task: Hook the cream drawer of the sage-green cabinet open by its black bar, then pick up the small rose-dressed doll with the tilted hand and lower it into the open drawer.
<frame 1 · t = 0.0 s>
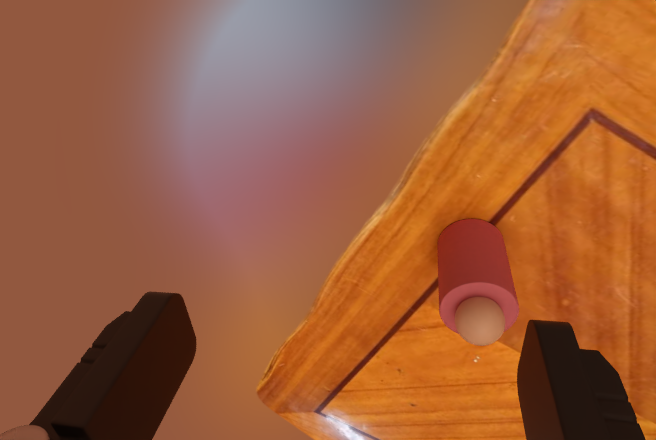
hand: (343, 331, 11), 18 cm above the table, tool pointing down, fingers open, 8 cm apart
doll: (470, 245, 31), on the table
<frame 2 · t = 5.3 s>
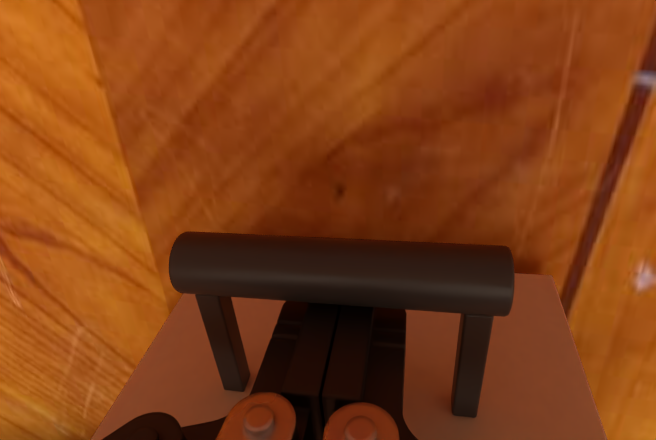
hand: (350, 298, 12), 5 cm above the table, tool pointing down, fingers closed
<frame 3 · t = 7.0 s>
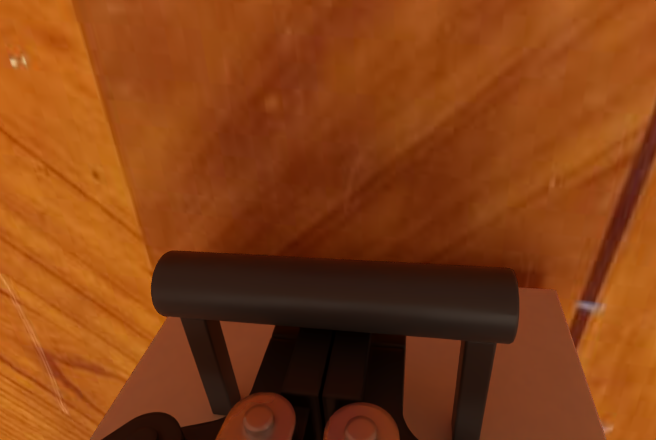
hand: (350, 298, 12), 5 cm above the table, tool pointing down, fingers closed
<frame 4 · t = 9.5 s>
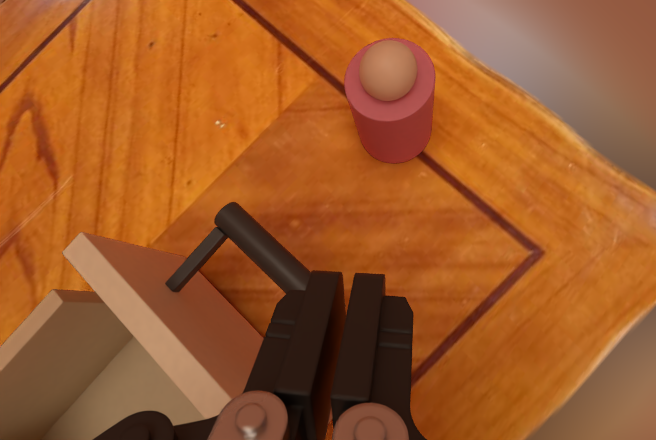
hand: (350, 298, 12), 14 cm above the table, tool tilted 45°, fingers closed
doll: (394, 129, 27), on the table
drawer: (154, 410, 21), point 5 cm above the table, slide at 9.6 cm
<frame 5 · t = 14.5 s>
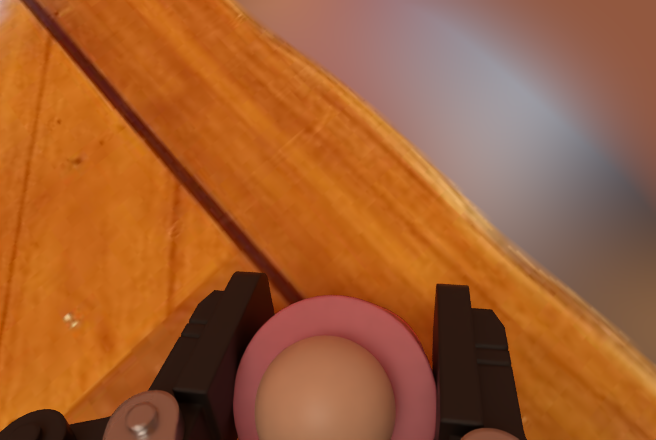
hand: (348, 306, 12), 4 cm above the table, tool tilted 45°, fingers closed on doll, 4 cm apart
doll: (362, 368, 15), on the table, touching gripper
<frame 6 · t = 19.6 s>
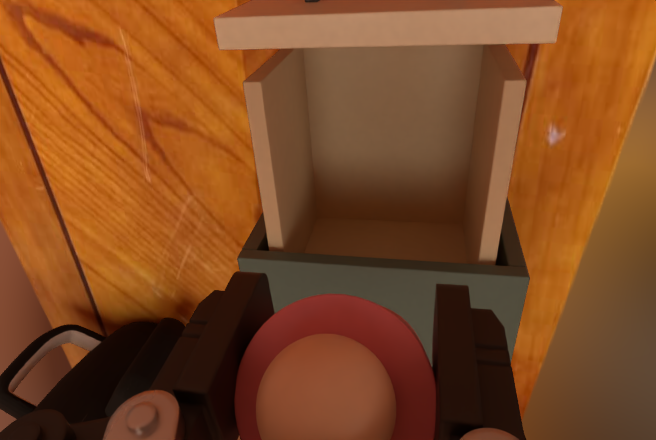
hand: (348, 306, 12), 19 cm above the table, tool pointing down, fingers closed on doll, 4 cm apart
doll: (362, 367, 15), point 17 cm above the table, tilted 44°, touching gripper
mug: (163, 350, 46), on the table
drawer: (384, 103, 23), point 5 cm above the table, slide at 9.6 cm
cabinet: (389, 261, 34), on the table
when the fingers open (10 cm above the table, at t = 22.7 s): doll drops 5 cm and tips over, resting on drawer.
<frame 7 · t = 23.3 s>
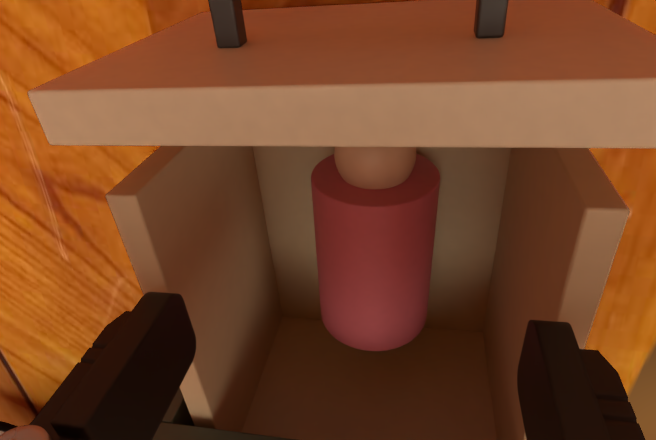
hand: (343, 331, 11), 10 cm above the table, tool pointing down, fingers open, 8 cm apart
doll: (373, 310, 19), point 4 cm above the table, tilted 90°, touching drawer
drawer: (365, 195, 14), point 5 cm above the table, slide at 9.7 cm, touching doll
cabinet: (383, 360, 26), on the table
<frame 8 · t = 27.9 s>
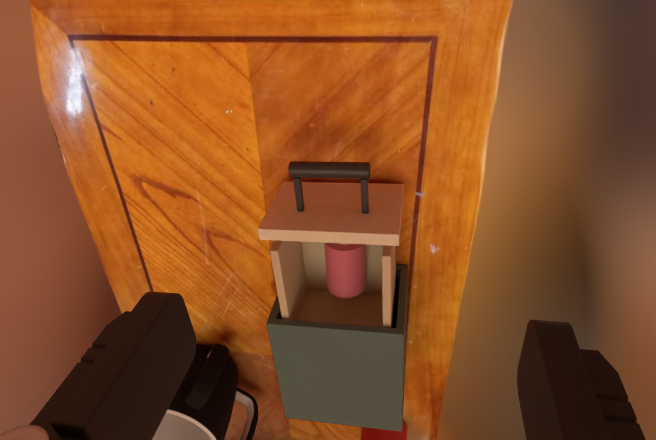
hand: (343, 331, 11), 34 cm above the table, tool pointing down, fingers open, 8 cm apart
doll: (346, 284, 50), point 4 cm above the table, tilted 90°, touching drawer
mug: (209, 362, 69), on the table
beer can: (385, 422, 70), on the table
drawer: (337, 246, 46), point 5 cm above the table, slide at 9.7 cm, touching doll
cabinet: (351, 310, 58), on the table
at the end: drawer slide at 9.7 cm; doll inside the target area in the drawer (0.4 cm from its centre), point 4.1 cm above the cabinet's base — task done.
